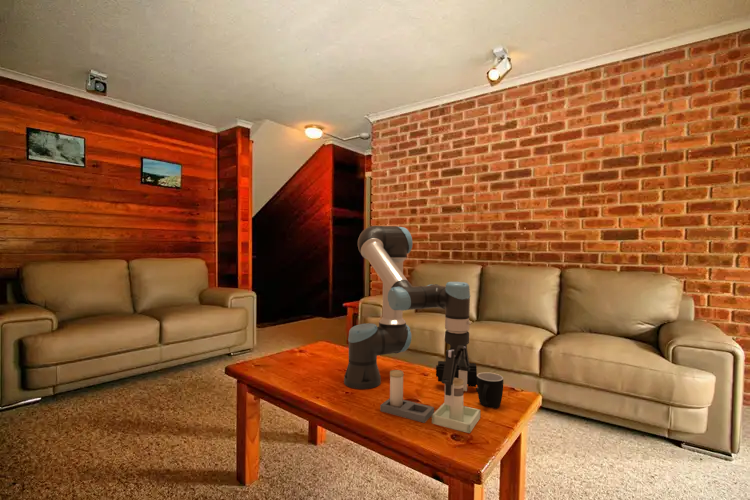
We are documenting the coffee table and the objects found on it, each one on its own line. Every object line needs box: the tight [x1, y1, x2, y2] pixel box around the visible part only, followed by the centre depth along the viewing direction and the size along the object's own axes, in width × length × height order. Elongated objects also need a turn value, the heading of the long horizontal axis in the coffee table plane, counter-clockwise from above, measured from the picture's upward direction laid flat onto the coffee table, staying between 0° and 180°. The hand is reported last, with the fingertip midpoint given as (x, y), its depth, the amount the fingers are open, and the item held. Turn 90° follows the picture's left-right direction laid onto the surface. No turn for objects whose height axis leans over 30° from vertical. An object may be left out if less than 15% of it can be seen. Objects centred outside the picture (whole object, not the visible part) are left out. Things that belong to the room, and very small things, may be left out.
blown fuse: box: [449, 378, 465, 422], centre depth 116 cm, size 5×5×13 cm
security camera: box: [435, 360, 478, 393], centre depth 143 cm, size 7×18×10 cm, turn 78°
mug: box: [476, 371, 504, 410], centre depth 127 cm, size 12×9×10 cm
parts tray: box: [431, 402, 481, 434], centre depth 116 cm, size 12×12×3 cm
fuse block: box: [379, 369, 435, 424], centre depth 121 cm, size 16×8×13 cm, turn 59°
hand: (456, 397), depth 116 cm, fingers open, 13 cm apart
